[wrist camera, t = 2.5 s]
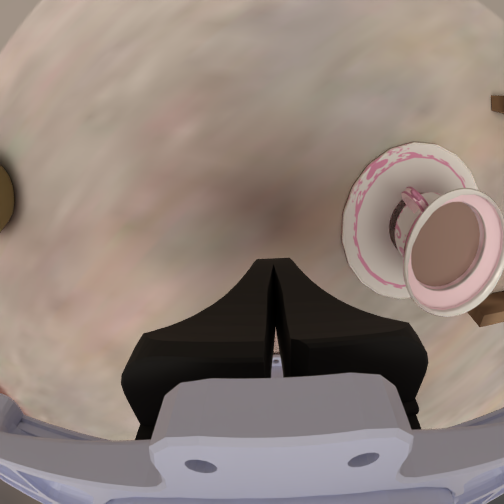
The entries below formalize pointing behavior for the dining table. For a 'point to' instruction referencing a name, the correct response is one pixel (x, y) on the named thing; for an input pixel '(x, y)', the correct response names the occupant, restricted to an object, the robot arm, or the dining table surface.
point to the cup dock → (498, 303)
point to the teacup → (424, 230)
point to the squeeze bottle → (5, 198)
